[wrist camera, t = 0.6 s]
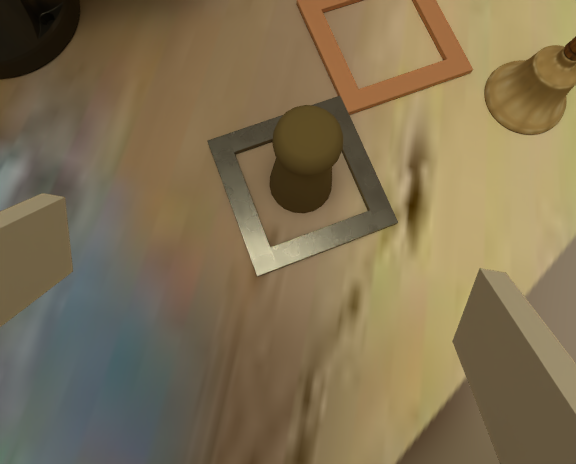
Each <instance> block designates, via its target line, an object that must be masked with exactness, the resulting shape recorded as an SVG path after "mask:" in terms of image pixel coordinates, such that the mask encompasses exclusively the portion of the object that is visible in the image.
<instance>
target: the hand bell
mask: <svg viewBox="0 0 576 464" xmlns="http://www.w3.org/2000/svg"><path fill="white" fill-rule="evenodd" d="M575 85H576V37H575V38H573V39H572V41H570V42H569V43H568V44H567V45H566V46H565V47H563V46H557V45H553V46H548V47H545V48H543V49H541V50H540V51H538V52H537V53H536V54H535V55H533V56H532V57H531V58H529V59H528V60H526V61H513V62H509V63H506V64H504V65H502V66H500V67H499V68H497V69H496V70H495V71H493V73H492V74H491V75H490V77H489V78H488V80H487V83H486V86H485V101H486V104H487V107H488V109H489V111H490V112H491V114H492V115H493V117H494V118H495V119H496V120H497V121H498V122H499V123H500V124H502V125H503V126H504V127H506V128H507V129H509V130H512V131H514V132H517V133H521V134H539V133H543V132H545V131H548V130H549V129H551V128H553V127H554V126H555V125H556V124H557V123H558V122H559V121H560V120H561V118H562V116H563V114H564V111H565V108H566V95H567V93H568V92H569V91H570V90H571V89H572V88H573V87H574V86H575Z"/></svg>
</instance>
